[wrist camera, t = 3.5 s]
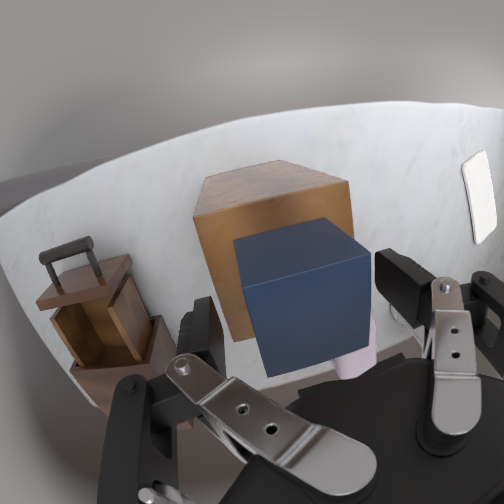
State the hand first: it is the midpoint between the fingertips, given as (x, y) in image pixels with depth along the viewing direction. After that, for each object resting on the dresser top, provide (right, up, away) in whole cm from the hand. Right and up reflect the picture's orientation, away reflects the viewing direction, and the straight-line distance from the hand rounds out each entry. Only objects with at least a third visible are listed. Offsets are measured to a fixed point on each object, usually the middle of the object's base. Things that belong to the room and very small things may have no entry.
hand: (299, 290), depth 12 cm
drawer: (-20, -3, +18) cm, 27 cm away
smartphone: (+36, +11, +20) cm, 42 cm away
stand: (-2, +7, +17) cm, 18 cm away
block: (0, +1, +2) cm, 2 cm away
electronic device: (+8, -6, +23) cm, 25 cm away
